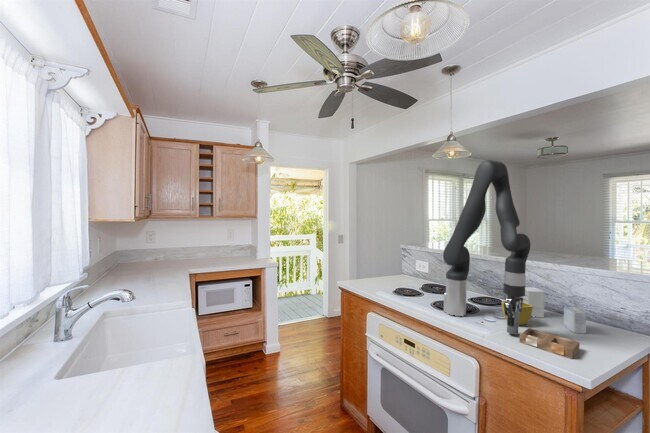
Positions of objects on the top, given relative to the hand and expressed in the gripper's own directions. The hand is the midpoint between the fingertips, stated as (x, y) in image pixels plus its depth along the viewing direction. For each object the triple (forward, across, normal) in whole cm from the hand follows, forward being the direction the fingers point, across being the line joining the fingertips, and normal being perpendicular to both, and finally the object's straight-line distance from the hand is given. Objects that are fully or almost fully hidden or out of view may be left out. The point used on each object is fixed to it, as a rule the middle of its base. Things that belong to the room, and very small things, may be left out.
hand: (512, 324), depth 122 cm
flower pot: (+5, -15, -4) cm, 16 cm away
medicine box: (+5, -27, +14) cm, 31 cm away
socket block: (+4, 0, +12) cm, 13 cm away
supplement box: (+5, -33, -3) cm, 33 cm away
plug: (+3, 0, 0) cm, 3 cm away
